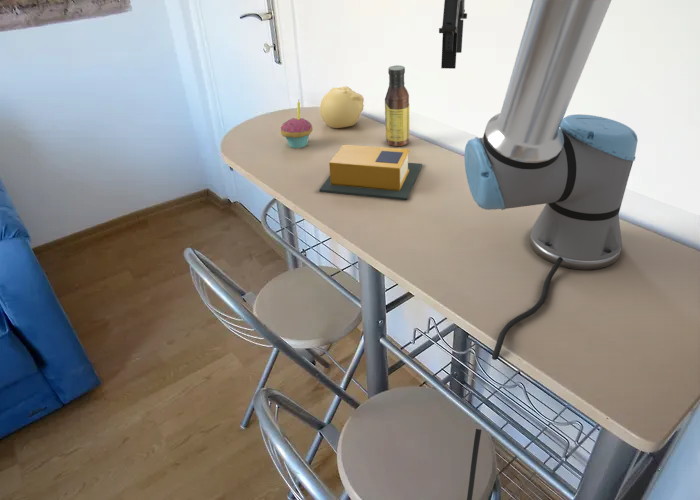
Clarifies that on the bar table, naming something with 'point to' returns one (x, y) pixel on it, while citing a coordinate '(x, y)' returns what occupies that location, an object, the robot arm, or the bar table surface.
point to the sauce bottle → (397, 108)
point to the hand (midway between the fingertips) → (451, 60)
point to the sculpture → (341, 107)
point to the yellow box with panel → (369, 167)
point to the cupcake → (296, 130)
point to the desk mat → (379, 193)
